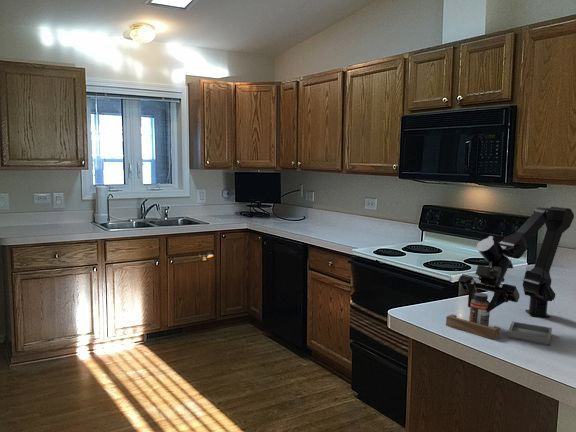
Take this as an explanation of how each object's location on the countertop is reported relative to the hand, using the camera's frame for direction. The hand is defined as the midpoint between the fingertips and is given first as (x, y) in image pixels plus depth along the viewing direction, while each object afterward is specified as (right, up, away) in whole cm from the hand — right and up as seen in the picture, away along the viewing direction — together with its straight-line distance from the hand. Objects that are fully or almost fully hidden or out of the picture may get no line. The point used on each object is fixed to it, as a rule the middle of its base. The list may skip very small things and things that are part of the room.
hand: (477, 309), depth 161 cm
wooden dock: (-2, -7, -1) cm, 7 cm away
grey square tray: (+15, -8, -4) cm, 17 cm away
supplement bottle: (+1, -7, +2) cm, 7 cm away
